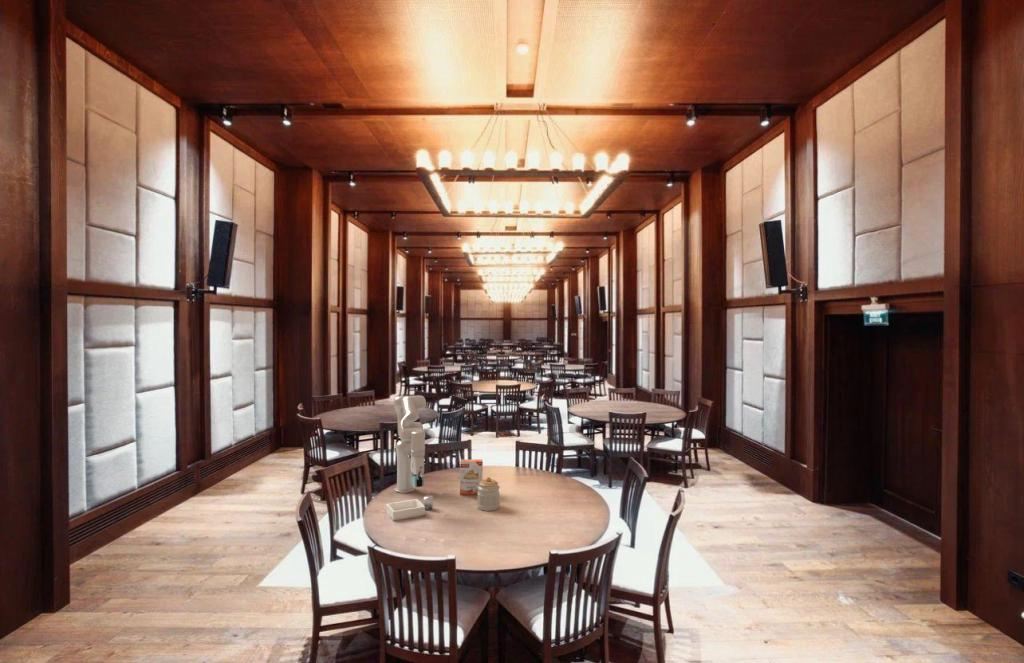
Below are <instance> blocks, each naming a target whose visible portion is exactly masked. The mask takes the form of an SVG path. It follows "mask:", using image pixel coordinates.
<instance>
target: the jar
mask: <svg viewBox="0 0 1024 663" xmlns="http://www.w3.org/2000/svg"><path fill="white" fill-rule="evenodd" d="M500 487H501V486H500V485H499V482H498V481H497V480H496V479H492V478H491V477H490V476H488V477H486V478H484V479H482V481H481V482H479V486H478V487H477V488H478V492H477V494H476V495H477V503H476V506H477V509H478V510H480V511H487V512H491V511H496V510H498V509H499V508H500V505H501V504H500V494H501V492H500V491H499V490H500V489H501V488H500Z"/></svg>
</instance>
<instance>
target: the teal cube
mask: <svg viewBox="0 0 1024 663" xmlns="http://www.w3.org/2000/svg"><path fill="white" fill-rule="evenodd" d="M419 476H420V475H419ZM424 478H425V477H424V476H423V479H422V486H420V487H424V485H425V484H424V483H425V482H424V481H425V480H424ZM412 486H414V487H415V488H418V487H417V476H413V475H412ZM420 487H419V488H420Z"/></svg>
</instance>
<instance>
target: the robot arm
mask: <svg viewBox="0 0 1024 663" xmlns="http://www.w3.org/2000/svg"><path fill="white" fill-rule="evenodd" d="M393 406H394V410H395V413H396V416H397V434H398V437H399V438H400V440H399V441H397V442H396V444H395V451H396V459H397V460H396V471H397V472H396V487H394V492H396V493H400V494H402V493H404V494H405V493H411V492H414V491H415V489H416V488H420V486H422V479H423V477H424V473H425V455H426V454H425V452H426V446H425V445H426V430H425V429H424V426H423V424H422V423H421V422H419V421H417V420H418V419H419V417H420V416H419V414H420V413H419V410H425V408H426V406H427V400H426V398H425V396H423V395H418V394H417V395H399V396H396V397H395V398H394V400H393ZM415 421H416V422H415ZM409 456H411V457H409ZM419 475H420V476H419ZM412 476H417V487H414V486H413V485H412ZM422 487H423V486H422Z"/></svg>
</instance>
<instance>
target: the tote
mask: <svg viewBox="0 0 1024 663" xmlns="http://www.w3.org/2000/svg"><path fill="white" fill-rule="evenodd" d="M385 514H387V516H388V515H389V516H388V517H389V518H390V520H392V522H396V521H401V520H407V519H408V520H409V519H413V518H419V517H424V516H426V510H425V506H424V503H422V502H421V501H420V500H419V499H418V498H414V499H410V500H409V499H408V500H401V501H397V502H396V501H394V502H391V503H390V502H388V503H386V504H385Z"/></svg>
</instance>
